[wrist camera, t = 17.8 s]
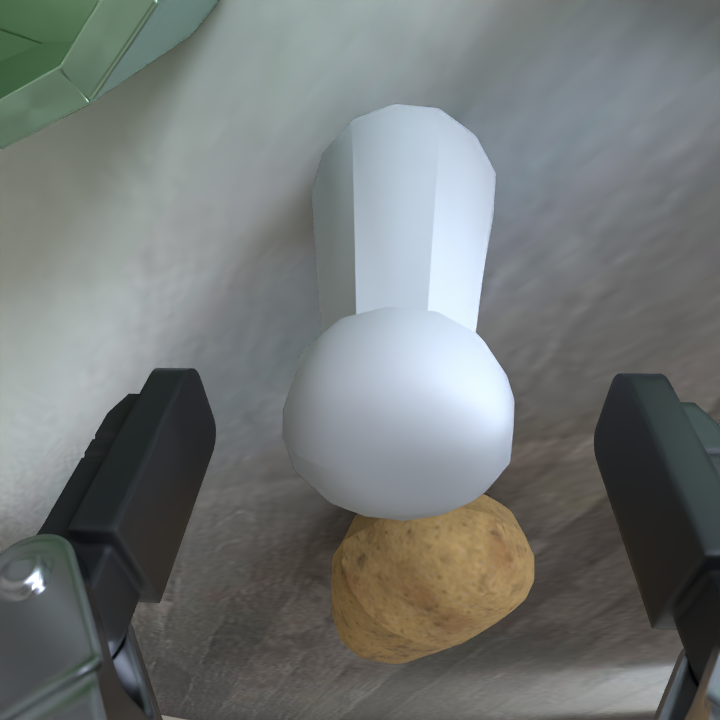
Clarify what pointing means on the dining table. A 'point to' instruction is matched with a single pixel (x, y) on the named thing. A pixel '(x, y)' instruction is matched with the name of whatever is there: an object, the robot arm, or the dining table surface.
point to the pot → (79, 53)
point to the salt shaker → (400, 323)
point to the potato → (428, 580)
